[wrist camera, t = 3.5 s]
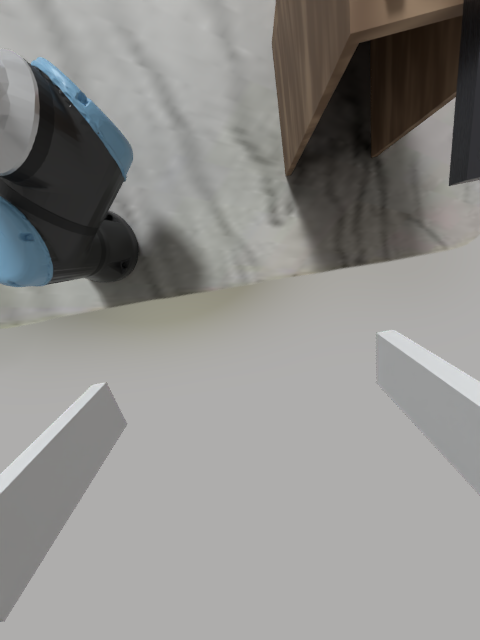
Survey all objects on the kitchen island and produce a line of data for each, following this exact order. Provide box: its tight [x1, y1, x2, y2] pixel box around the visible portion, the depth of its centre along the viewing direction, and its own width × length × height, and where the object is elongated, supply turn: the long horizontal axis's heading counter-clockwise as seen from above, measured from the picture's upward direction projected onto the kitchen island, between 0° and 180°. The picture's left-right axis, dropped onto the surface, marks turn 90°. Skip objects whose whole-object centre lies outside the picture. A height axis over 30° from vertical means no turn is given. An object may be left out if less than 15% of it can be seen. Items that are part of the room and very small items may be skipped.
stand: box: [272, 0, 464, 176], centre depth 25 cm, size 17×20×32 cm
